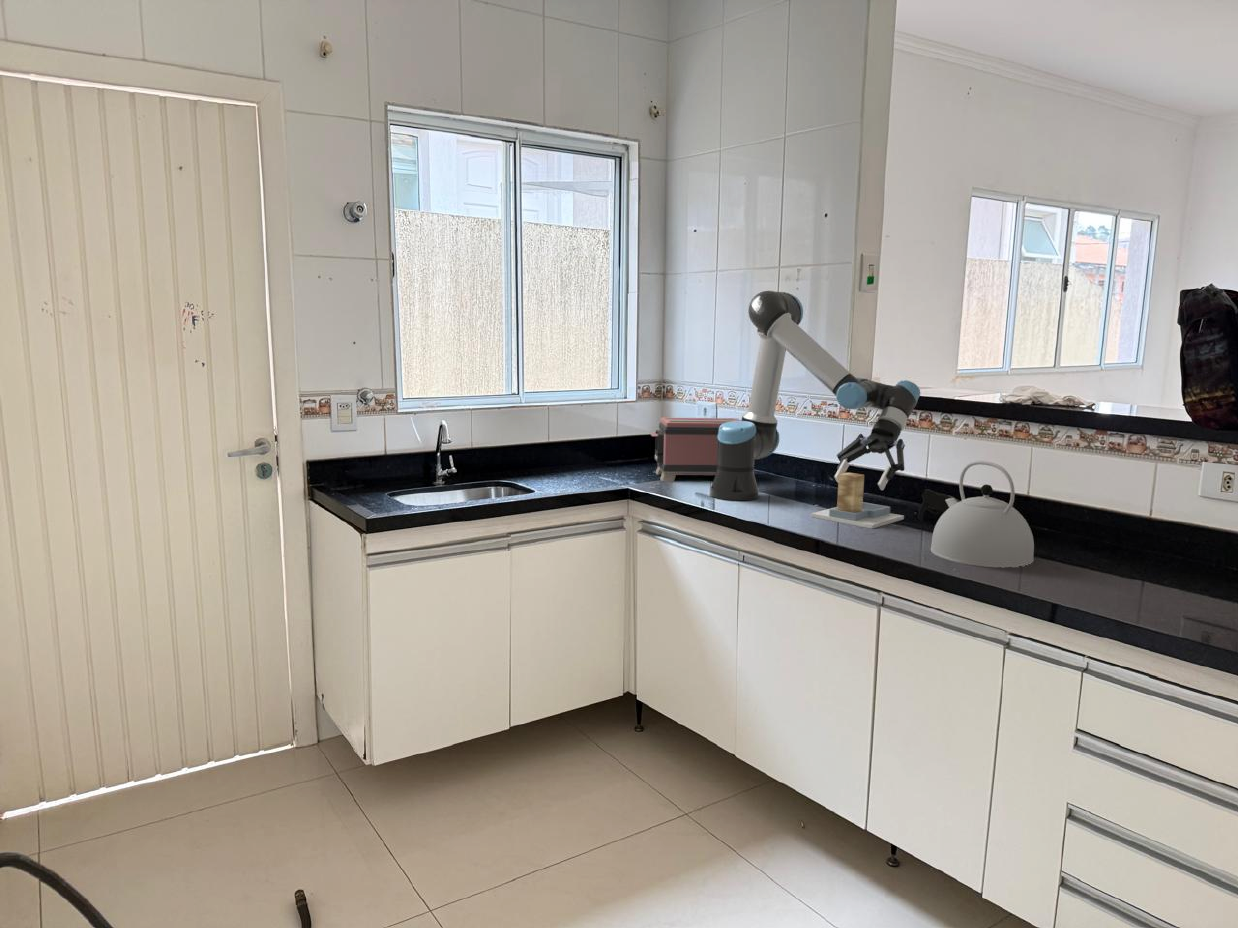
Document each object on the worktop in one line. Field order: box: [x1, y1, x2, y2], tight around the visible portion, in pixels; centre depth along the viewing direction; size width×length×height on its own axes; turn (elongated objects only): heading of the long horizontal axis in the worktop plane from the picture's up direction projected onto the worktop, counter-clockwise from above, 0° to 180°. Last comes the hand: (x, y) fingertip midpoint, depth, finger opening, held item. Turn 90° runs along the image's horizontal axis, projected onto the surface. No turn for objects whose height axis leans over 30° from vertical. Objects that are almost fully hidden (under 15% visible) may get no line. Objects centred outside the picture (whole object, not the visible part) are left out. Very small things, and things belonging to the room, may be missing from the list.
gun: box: [918, 488, 961, 522], centre depth 236 cm, size 3×16×10 cm, turn 79°
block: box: [836, 472, 865, 513], centre depth 235 cm, size 5×5×12 cm
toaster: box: [650, 417, 742, 483], centre depth 301 cm, size 19×34×21 cm, turn 94°
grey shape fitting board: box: [810, 501, 905, 529], centre depth 239 cm, size 19×18×3 cm
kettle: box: [930, 460, 1035, 569], centre depth 201 cm, size 25×23×22 cm
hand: (858, 483), depth 236 cm, fingers open, 13 cm apart
